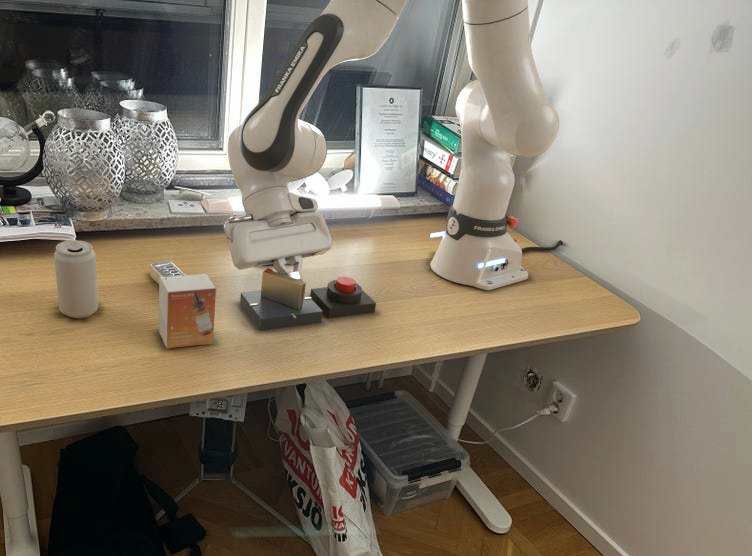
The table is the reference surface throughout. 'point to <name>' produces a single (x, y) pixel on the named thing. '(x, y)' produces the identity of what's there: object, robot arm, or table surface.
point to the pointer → (283, 289)
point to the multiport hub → (164, 270)
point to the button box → (342, 301)
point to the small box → (186, 310)
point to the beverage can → (76, 278)
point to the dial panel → (278, 312)
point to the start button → (345, 284)
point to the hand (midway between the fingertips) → (294, 282)
